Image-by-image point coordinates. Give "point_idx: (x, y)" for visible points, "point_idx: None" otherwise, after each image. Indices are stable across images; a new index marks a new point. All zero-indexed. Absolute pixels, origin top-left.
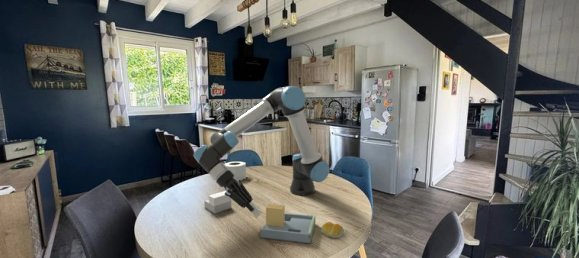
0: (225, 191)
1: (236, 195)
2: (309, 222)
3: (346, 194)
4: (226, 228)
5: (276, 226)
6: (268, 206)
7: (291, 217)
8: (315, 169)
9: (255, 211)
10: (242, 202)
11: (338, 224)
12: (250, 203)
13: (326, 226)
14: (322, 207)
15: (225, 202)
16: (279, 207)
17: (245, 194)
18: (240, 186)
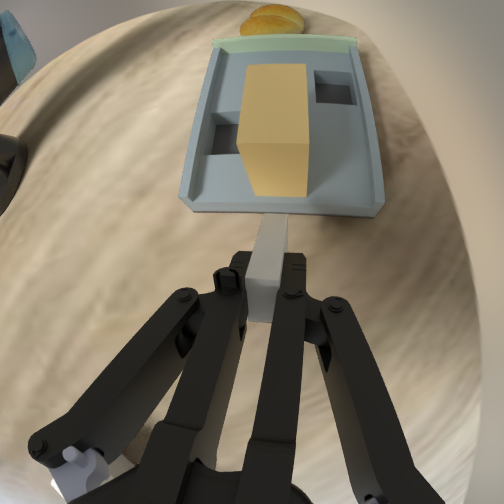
0: (56, 485)
1: (382, 418)
2: (250, 57)
3: (57, 70)
4: (312, 414)
5: (311, 148)
6: (284, 132)
7: (210, 114)
8: (14, 28)
9: (285, 246)
10: (357, 333)
11: (265, 6)
12: (279, 277)
13: (277, 22)
14: (110, 82)
15: (110, 474)
16: (286, 76)
17: (210, 350)
18: (146, 448)
